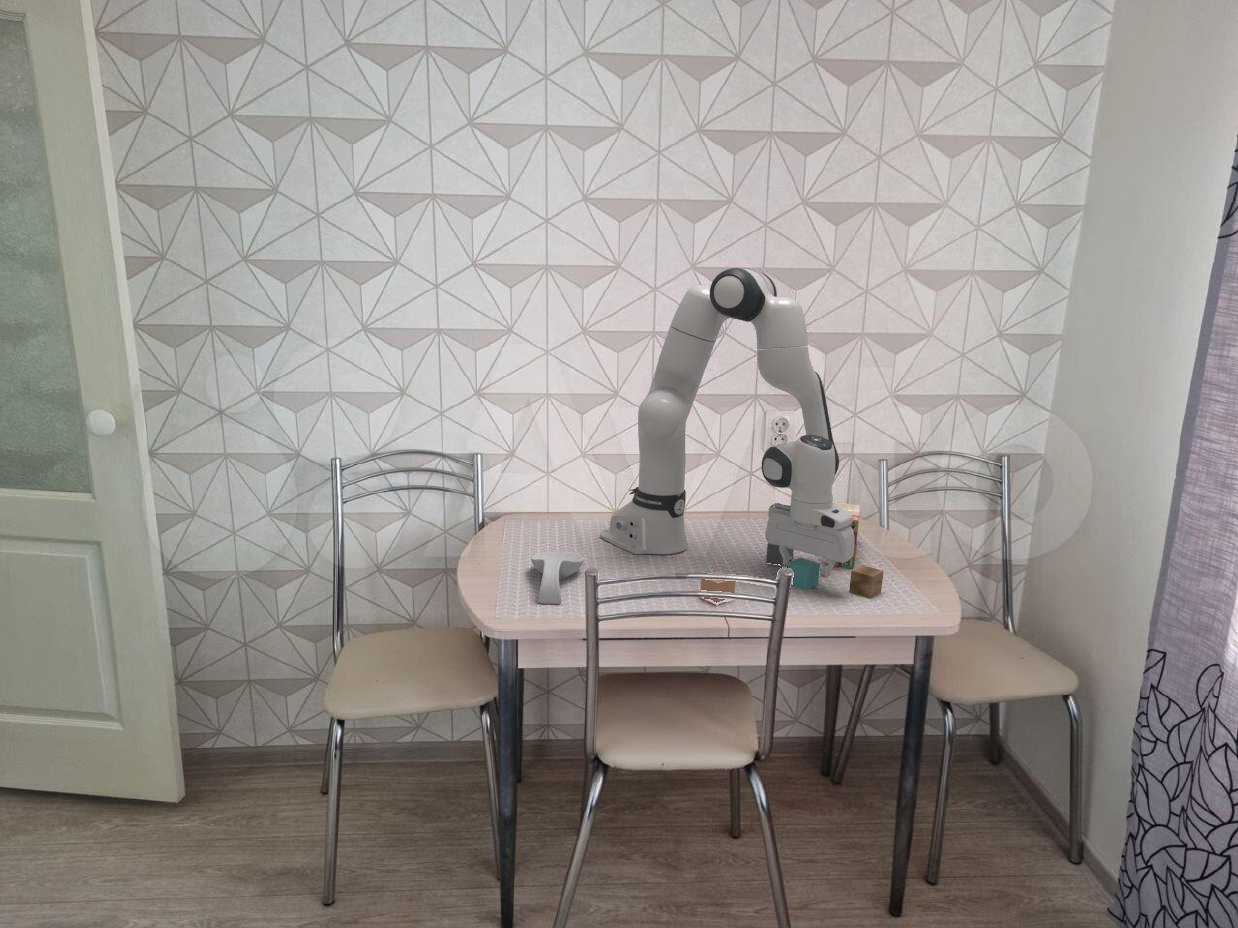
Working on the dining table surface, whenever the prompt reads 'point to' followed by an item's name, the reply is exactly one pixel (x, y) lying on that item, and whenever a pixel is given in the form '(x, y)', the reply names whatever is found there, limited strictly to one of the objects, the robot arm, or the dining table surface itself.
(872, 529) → the dining table surface
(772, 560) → the charcoal cube
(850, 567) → the stack of blocks
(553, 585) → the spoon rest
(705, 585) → the terracotta cube
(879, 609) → the dining table surface
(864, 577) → the walnut cube
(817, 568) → the teal cube
